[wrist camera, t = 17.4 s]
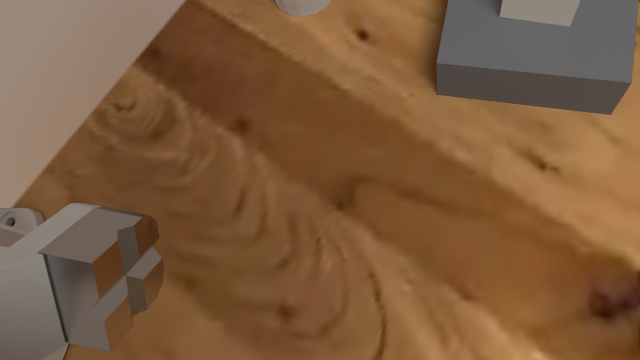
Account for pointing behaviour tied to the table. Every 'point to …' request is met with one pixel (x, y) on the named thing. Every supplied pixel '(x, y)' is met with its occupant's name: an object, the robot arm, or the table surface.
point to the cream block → (540, 10)
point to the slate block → (538, 56)
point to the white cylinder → (302, 6)
